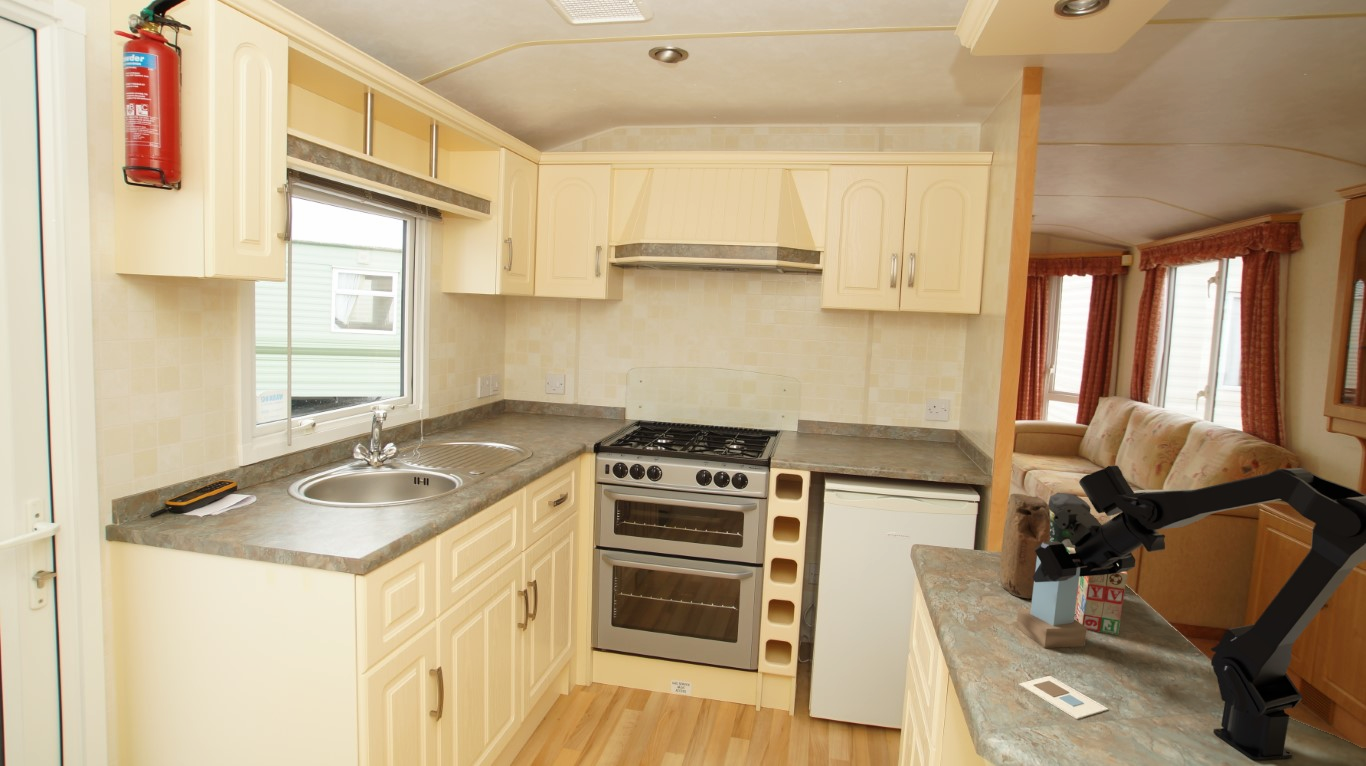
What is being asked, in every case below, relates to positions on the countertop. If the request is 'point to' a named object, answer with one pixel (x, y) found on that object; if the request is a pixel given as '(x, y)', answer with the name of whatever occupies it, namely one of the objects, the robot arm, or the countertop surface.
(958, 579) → the countertop surface
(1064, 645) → the walnut base
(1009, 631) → the countertop surface
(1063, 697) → the page
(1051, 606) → the blue brick
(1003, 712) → the countertop surface
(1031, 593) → the block
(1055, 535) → the coffee jar
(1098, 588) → the stack of blocks
